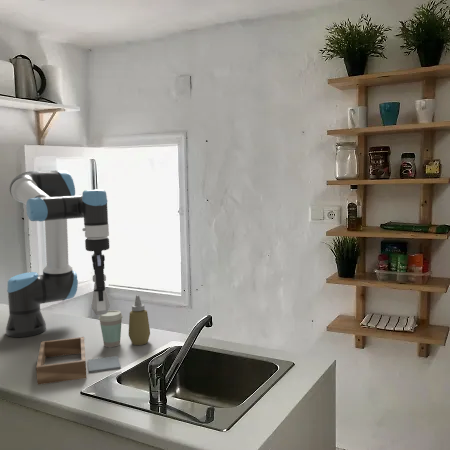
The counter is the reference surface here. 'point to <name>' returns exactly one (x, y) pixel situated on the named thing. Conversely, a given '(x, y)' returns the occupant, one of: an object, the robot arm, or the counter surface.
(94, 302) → the salt shaker
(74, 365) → the crate
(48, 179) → the robot arm
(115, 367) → the mat
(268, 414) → the counter surface
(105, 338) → the coffee cup
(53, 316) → the counter surface
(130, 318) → the squeeze bottle
